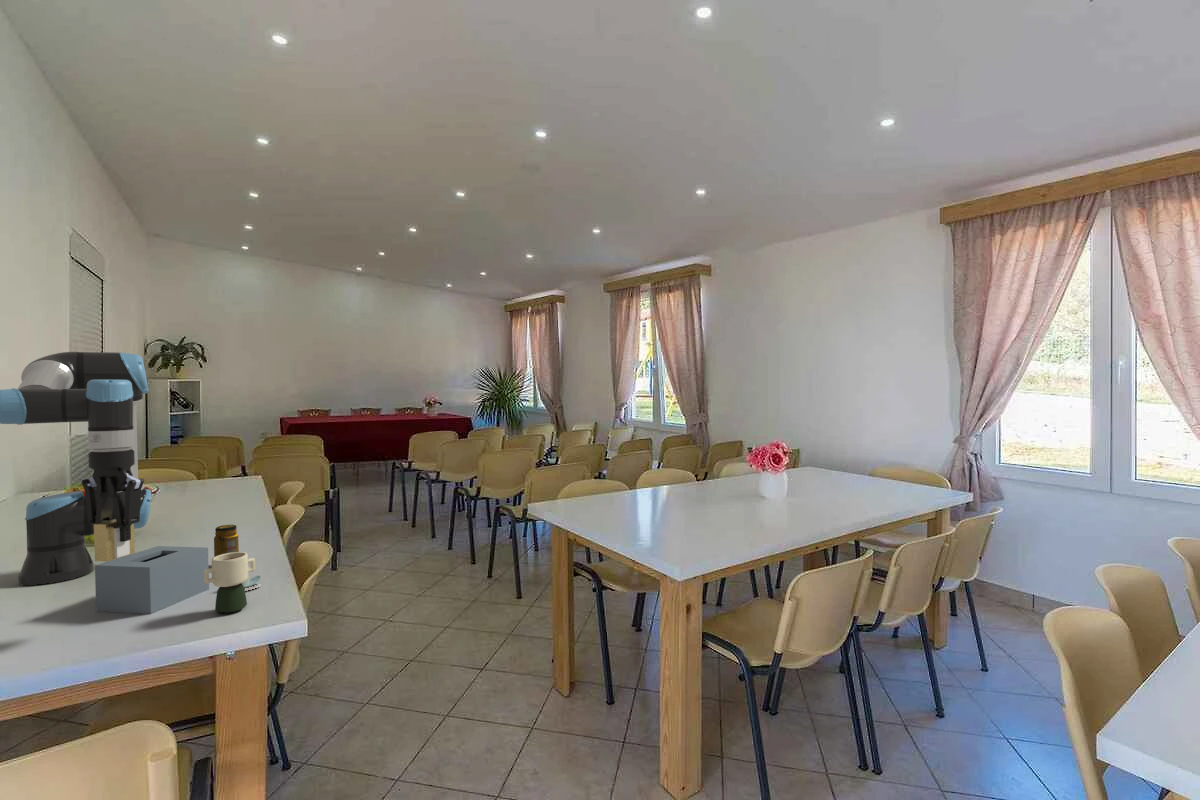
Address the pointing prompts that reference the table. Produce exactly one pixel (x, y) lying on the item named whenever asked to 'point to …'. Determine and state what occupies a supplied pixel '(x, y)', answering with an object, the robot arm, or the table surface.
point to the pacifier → (249, 583)
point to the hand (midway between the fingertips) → (114, 555)
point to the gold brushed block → (108, 540)
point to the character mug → (230, 580)
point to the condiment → (225, 540)
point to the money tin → (150, 579)
